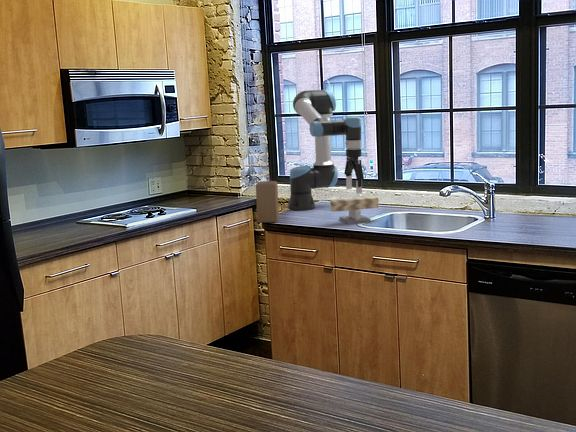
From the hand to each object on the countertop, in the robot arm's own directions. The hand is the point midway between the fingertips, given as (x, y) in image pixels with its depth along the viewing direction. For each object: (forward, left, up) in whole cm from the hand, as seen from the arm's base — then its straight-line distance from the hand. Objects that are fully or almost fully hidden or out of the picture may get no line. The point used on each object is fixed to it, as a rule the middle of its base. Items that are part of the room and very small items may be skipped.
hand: (354, 191), depth 334 cm
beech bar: (0, 0, -9) cm, 9 cm away
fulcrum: (0, 0, -15) cm, 15 cm away
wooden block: (-19, -40, -15) cm, 47 cm away
